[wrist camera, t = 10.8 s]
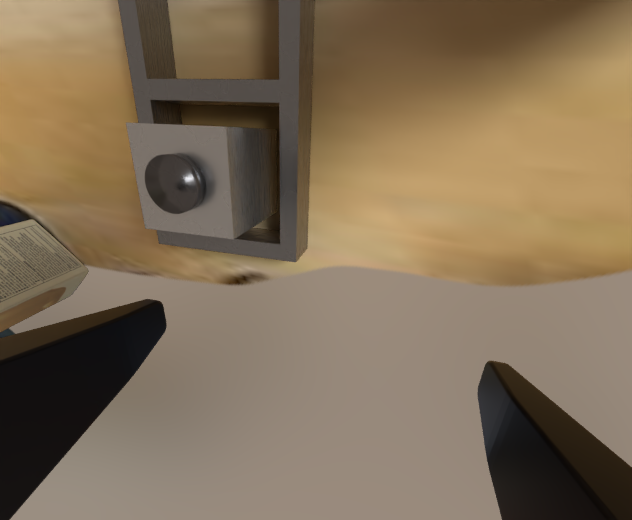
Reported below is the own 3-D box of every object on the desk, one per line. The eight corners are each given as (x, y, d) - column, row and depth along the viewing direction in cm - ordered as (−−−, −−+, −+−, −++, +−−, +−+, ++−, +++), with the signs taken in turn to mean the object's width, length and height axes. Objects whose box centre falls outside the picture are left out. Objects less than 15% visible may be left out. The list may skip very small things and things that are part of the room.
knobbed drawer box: (276, 129, 18) (215, 126, 12) (277, 211, 20) (225, 244, 14) (201, 126, 19) (111, 121, 13) (209, 204, 21) (133, 233, 15)
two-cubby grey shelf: (318, -132, 14) (303, -184, 11) (307, 248, 21) (296, 262, 18) (137, -106, 16) (93, -147, 13) (182, 232, 23) (158, 243, 20)
